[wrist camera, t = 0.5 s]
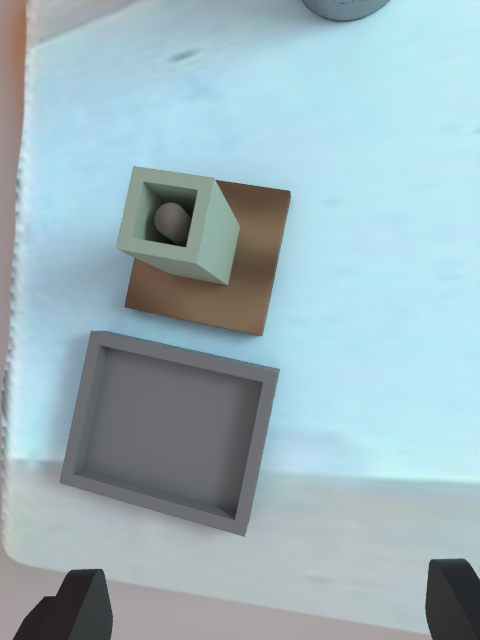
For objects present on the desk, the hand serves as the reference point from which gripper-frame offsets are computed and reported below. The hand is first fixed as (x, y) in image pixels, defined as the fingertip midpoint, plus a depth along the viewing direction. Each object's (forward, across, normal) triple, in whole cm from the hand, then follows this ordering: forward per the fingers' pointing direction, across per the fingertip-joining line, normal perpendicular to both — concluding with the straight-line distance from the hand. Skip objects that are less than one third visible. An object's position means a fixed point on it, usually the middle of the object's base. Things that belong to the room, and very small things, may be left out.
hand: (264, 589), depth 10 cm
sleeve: (+25, +4, -6) cm, 26 cm away
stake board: (+27, +4, -5) cm, 28 cm away
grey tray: (+23, +7, +8) cm, 25 cm away
